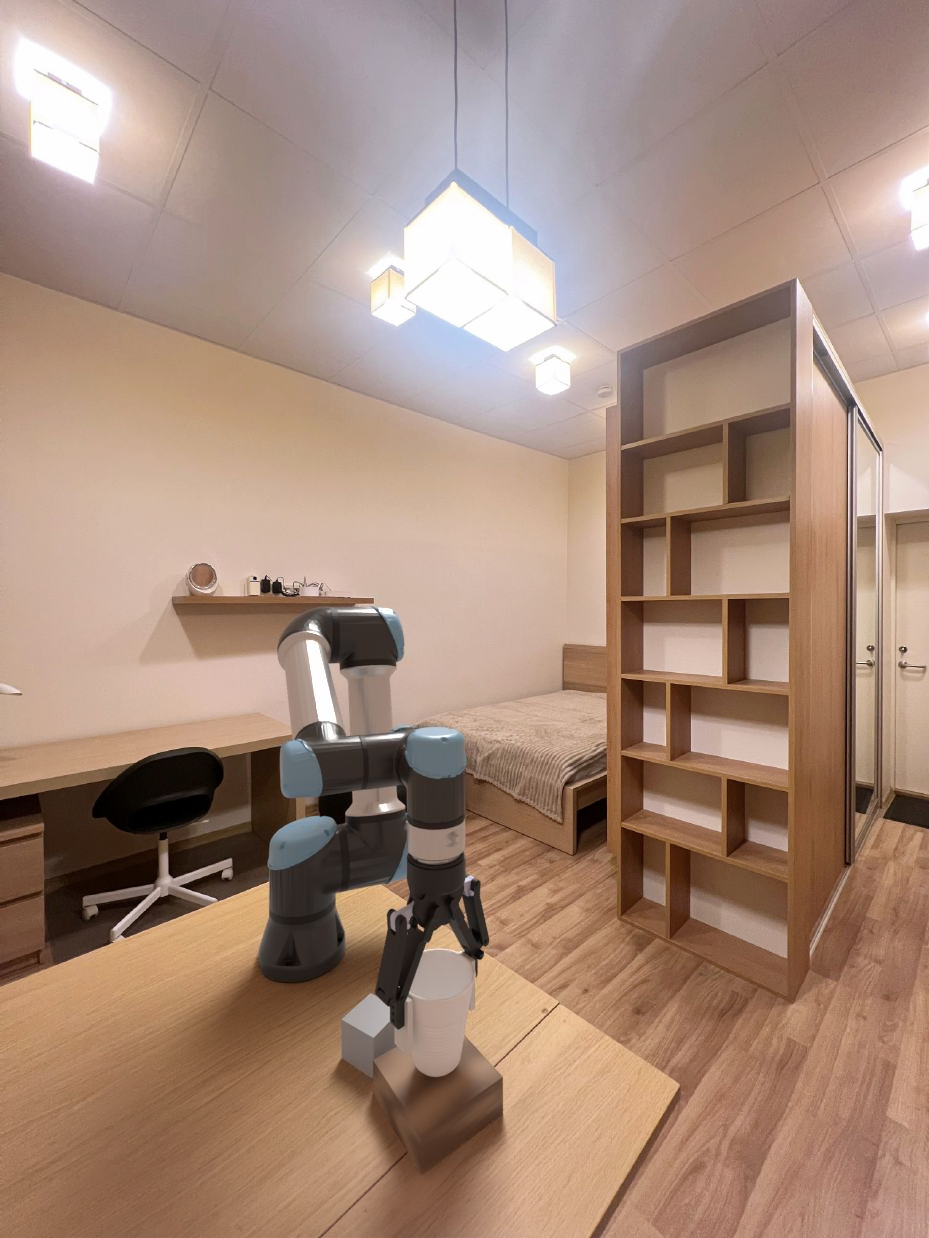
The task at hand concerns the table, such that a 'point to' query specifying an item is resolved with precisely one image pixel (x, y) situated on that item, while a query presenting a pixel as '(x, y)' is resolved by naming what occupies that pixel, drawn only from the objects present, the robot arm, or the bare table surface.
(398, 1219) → the table surface
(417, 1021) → the cup
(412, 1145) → the walnut block
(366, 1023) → the grey cube
